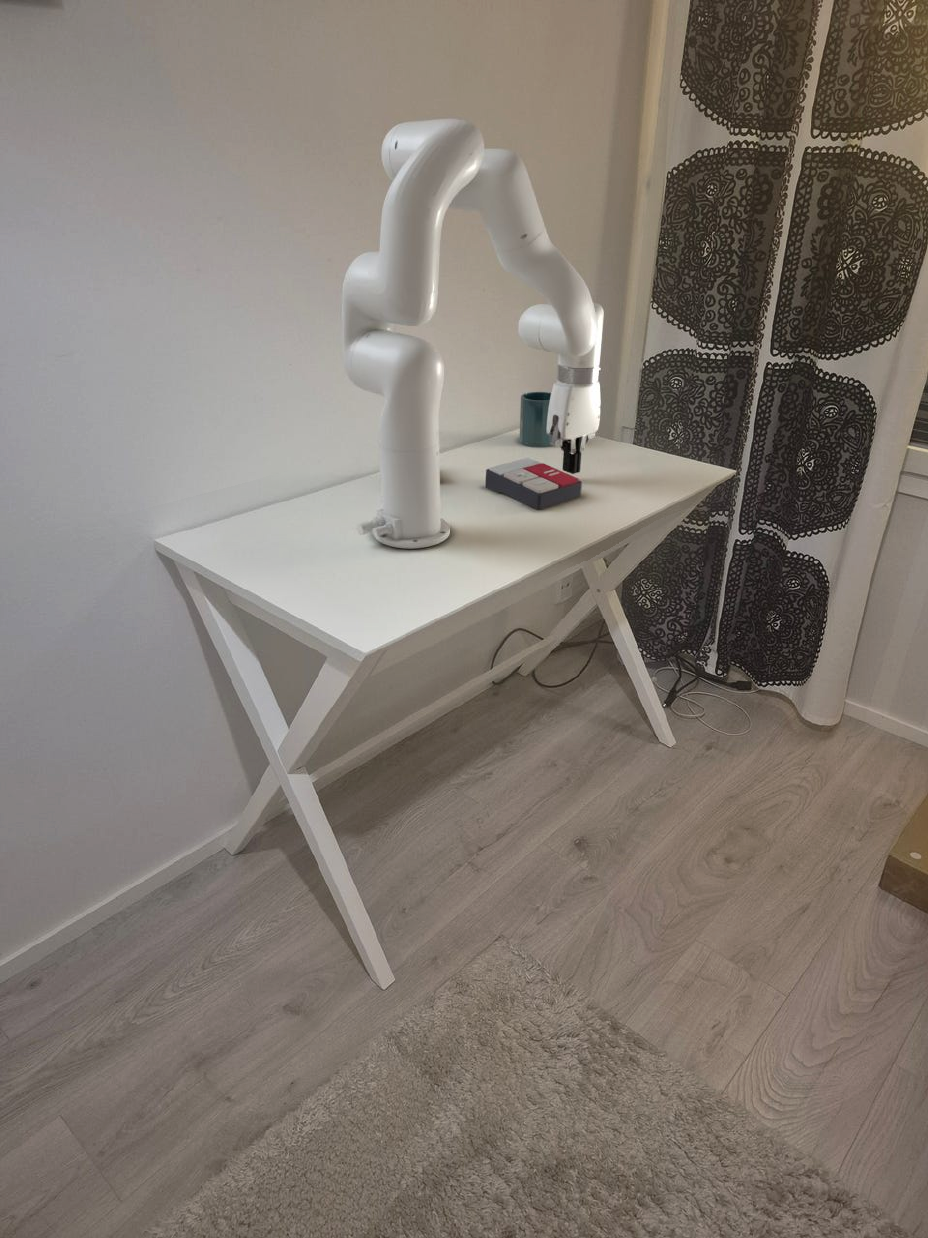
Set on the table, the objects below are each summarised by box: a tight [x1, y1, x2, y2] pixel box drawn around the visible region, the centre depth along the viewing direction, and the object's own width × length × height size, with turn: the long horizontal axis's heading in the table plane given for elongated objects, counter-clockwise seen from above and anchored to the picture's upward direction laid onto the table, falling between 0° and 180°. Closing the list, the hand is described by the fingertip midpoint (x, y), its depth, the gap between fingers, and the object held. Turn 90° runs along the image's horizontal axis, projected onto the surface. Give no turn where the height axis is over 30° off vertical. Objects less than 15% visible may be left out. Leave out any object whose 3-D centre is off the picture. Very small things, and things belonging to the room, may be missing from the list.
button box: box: [484, 457, 583, 511], centre depth 150 cm, size 11×4×15 cm
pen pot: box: [519, 391, 552, 448], centre depth 177 cm, size 8×8×10 cm
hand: (571, 471), depth 155 cm, fingers closed
